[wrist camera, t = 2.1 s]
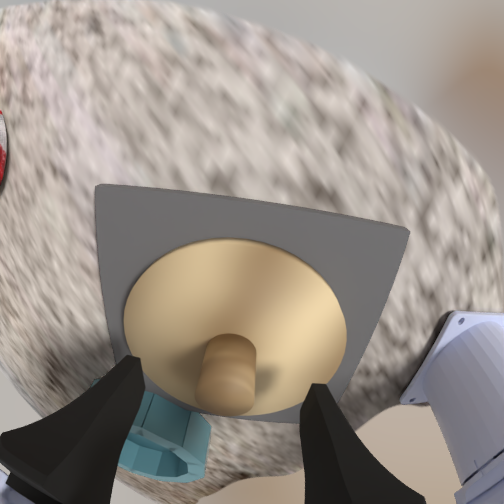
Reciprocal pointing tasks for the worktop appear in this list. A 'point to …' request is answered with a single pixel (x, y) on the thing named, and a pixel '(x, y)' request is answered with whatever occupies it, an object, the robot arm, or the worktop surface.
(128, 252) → the mat
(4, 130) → the soda can
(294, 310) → the lid
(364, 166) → the worktop surface
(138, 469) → the bowl
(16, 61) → the worktop surface
